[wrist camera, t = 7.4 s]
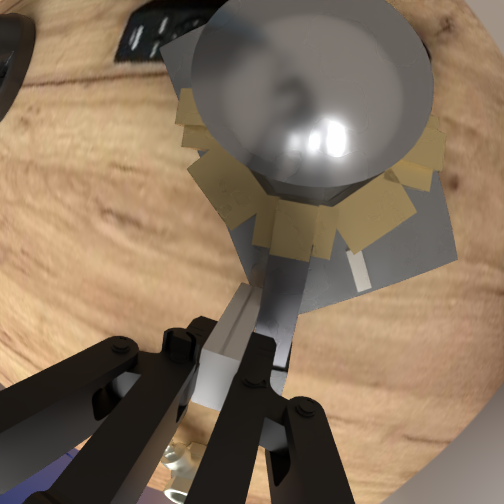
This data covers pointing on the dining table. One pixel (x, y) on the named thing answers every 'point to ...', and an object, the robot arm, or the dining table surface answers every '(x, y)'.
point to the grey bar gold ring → (302, 217)
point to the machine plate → (319, 123)
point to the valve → (181, 468)
